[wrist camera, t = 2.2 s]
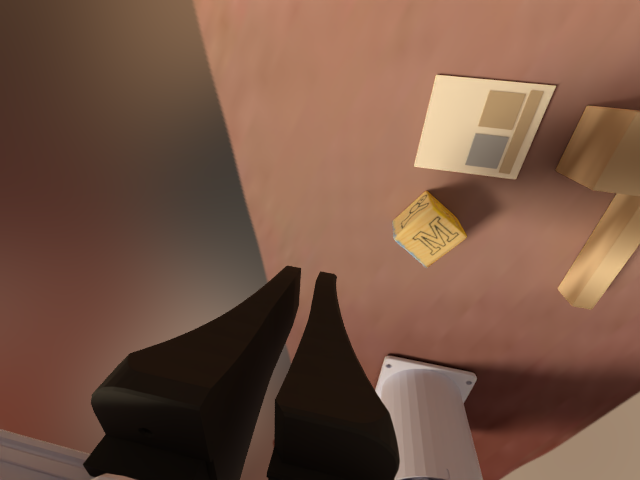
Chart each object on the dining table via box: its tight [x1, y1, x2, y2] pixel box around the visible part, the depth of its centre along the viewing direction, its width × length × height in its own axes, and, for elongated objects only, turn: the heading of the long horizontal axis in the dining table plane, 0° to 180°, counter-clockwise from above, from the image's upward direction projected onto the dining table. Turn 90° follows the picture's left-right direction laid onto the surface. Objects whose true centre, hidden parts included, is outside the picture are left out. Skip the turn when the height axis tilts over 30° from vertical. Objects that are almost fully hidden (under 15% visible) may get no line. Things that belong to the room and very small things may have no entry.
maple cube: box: [555, 105, 640, 196], centre depth 14 cm, size 4×4×4 cm
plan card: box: [414, 75, 556, 180], centre depth 17 cm, size 5×6×1 cm
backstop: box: [558, 194, 640, 309], centre depth 17 cm, size 12×1×2 cm, turn 175°
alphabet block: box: [392, 191, 467, 268], centre depth 19 cm, size 3×3×3 cm
